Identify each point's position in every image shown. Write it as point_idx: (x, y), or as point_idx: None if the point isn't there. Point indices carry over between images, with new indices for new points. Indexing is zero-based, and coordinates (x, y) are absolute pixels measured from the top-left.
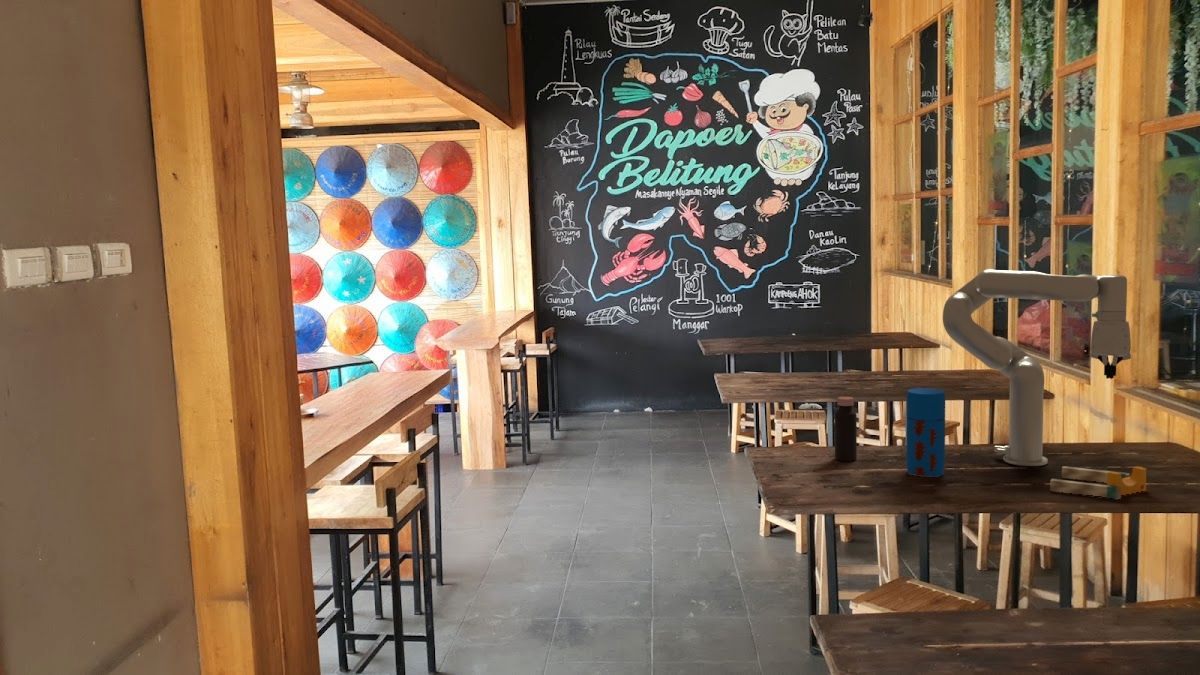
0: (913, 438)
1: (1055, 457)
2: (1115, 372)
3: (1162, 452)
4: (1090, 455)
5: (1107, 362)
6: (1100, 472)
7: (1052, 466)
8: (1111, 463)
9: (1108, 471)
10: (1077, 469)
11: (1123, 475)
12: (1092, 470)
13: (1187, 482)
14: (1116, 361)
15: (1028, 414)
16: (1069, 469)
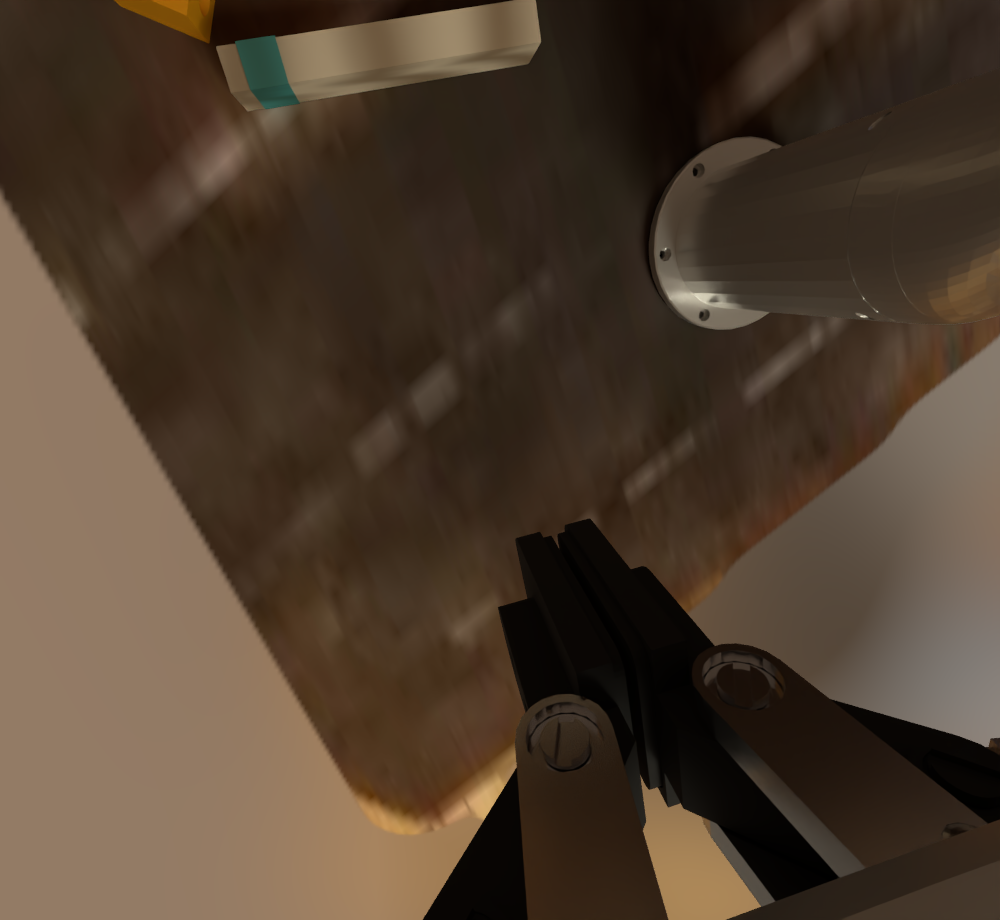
0: None
1: (653, 394)
2: (508, 644)
3: (394, 698)
4: (563, 507)
5: (711, 719)
6: (353, 25)
7: (620, 233)
8: (461, 440)
9: (329, 69)
10: (462, 8)
11: (242, 43)
12: (397, 36)
13: (89, 323)
14: (531, 808)
15: (928, 95)
16: (499, 5)
